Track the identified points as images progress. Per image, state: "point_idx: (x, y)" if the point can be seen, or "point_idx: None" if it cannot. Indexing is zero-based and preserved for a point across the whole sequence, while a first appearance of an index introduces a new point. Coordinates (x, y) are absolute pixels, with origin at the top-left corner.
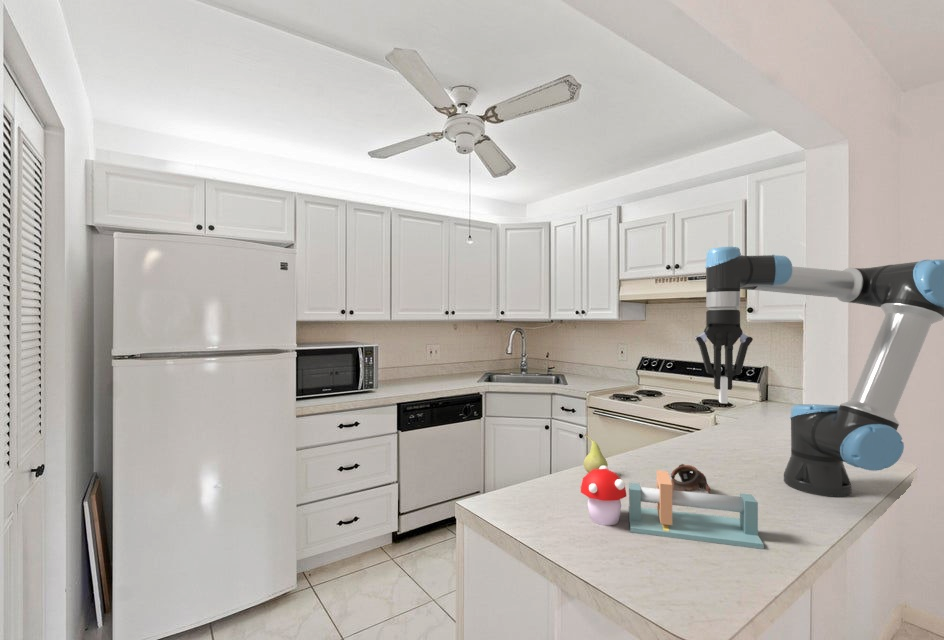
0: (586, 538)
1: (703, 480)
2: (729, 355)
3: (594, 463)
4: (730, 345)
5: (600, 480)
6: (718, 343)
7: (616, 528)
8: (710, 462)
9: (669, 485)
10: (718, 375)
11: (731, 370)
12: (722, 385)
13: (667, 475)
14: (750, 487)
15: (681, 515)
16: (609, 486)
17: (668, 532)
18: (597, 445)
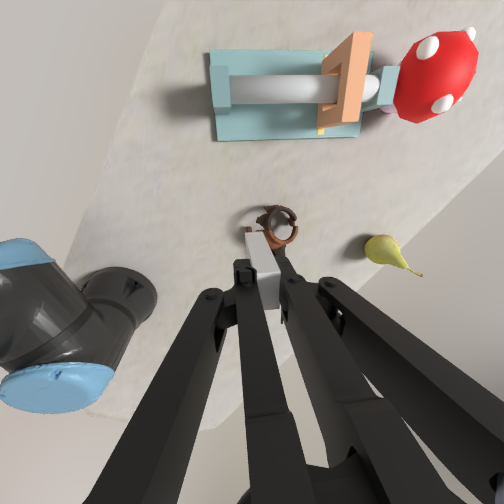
0: (433, 6)
1: (260, 218)
2: (262, 367)
3: (390, 238)
4: (275, 465)
5: (464, 39)
6: (413, 472)
7: (385, 61)
8: (231, 330)
9: (357, 33)
10: (293, 274)
11: (241, 297)
12: (268, 255)
13: (347, 94)
14: (197, 266)
15: (297, 124)
16: (445, 34)
17: (326, 51)
18: (398, 262)
